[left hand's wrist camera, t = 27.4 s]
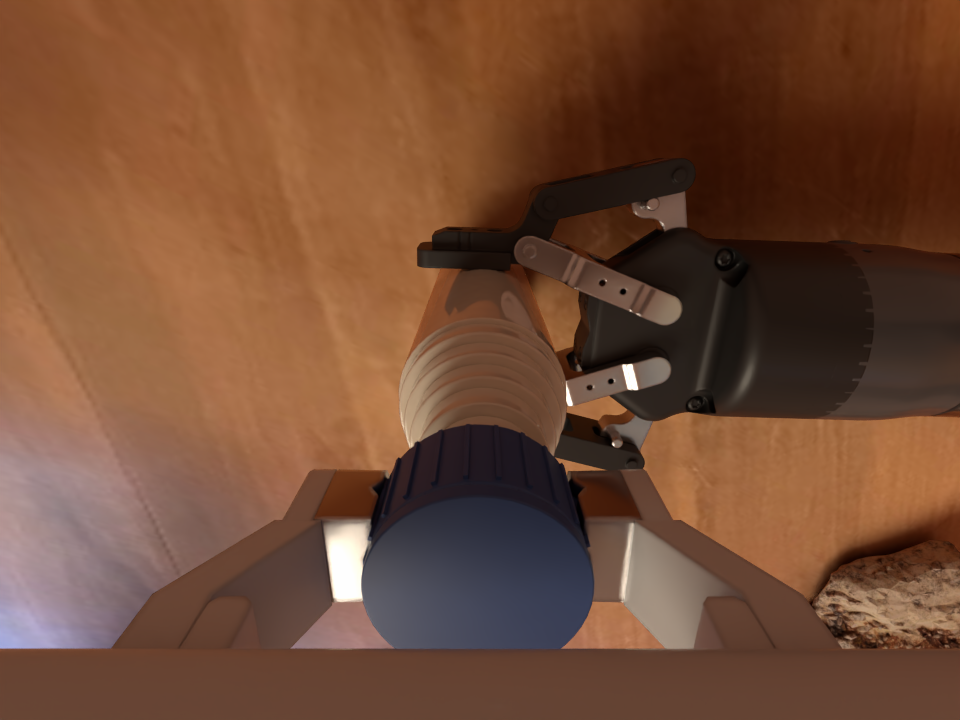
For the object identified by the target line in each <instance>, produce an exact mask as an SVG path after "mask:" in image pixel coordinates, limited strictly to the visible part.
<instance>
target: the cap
mask: <svg viewBox="0 0 960 720" xmlns="http://www.w3.org/2000/svg"><path fill="white" fill-rule="evenodd" d="M576 508H577V498H576V497H574V496H572V492H571V489H570V485H569V481H568V478H567V475H566V471H565V468H564V465H563V464H562V463H561V464H559V462H558V461H557V460H556V458H555V457H554V456H553V455H552V454H551V453H550V452H549V451H548V448H547V447H546V446H545V445H544V446H542V445H541V444H539V443H538V442H536V441H535V440H533V439H531V438H530V437H528V436H526V435H525V433H523V432H521V433H519V432H517V431H514V430H512V429H509V428H505V427H499V426H498V425H482V424H473V425H472V424H466V425H463V426H457V427H452V428H449V429H445V430H443V429H441V430H438V432H436V433H434V434H432V435H430V436H428V437H427V438H425V439H423V440H422V441H420V442H419V441H417V442H415V443H414V446H413V447H412V448H411V449H409V450H408V451H407V452H406V453H405V454H404V455H403V456H402V457H401V459H400V458H398V459H397V460H396V463H395V466H394V469H393V471H392V473H391V475H390V476H389V478H387V479H386V482H385V485H384V489H382V492H381V495H380V498H379V506H378V509H377V512H376V516H375V519H374V522H373V525H372V528H371V529H370V532H369V535H368V538H367V540H369V541H370V544H369V548H368V552H367V553H365V555H364V558H363V570H362V576H361V592H362V598H363V603H364V606H365V609H366V612H367V614H368V616H369V618H370V620H371V622H372V624H373V626H374V627H375V628H376V630H377V631H378V632H379V634H380V635H381V636H382V637H383V638H384V639H385V640H386V641H387V642H388V643H389V644H390V645H391V646H393V647H394V648H395V649H561V648H562V647H563V646H565V645H566V644H567V643H568V642H569V641H570V640H571V639H572V638H573V637H574V636H575V634H576V633H577V632H578V630H579V629H580V628H581V626H582V625H583V623H584V621H585V619H586V618H587V616H588V613H589V610H590V608H591V605H592V601H593V596H594V582H595V580H594V573H593V566H592V562H591V560H590V557H589V553H588V549H587V548H588V547H591V546H590V542H589V539H588V535H585V536H583V532H582V529H581V525H580V521H579V518H578V514H577V511H576Z"/></svg>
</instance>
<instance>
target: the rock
mask: <svg viewBox="0 0 960 720" xmlns="http://www.w3.org/2000/svg"><path fill="white" fill-rule="evenodd" d="M812 608H813V609H814V610H815V612H816V613H817V614H818V616H819V617H820V619H821V620H822V621H823V623H824V624H825V625H826V627H827V628H828V629H829V631H830V632H831V633H832V635H833V636H834V637H835V639H836V640H837V641H838V643H839V644H840V646H841V647H842V648H843V649H960V553H959V551H958V550H957V549H956V548H955V546H954V545H953V544H951V543H950V542H947V541H935V540H928V541H926V542H923V543H921V544H918V545H915V546H912V547H910V548H907V549H904V550H902V551H899V552H896V553H893V554H890V555H883V556H870V557H865V558H861V559H857V560H855V561H853V562H851V563H848V564H845V565H841V566H840V567H839V569H838V570H837V571H835V572H833V573H831V575H830V580H829V581H828V583H827V584H826V586H825V587H824V588H823V590H822V591H821V592H820V593H819V595H818V596H817V597H815V598H814V601H813V604H812Z"/></svg>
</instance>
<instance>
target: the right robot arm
mask: <svg viewBox="0 0 960 720" xmlns="http://www.w3.org/2000/svg"><path fill="white" fill-rule="evenodd" d="M695 175H696V172H695V167H694V165H693V164H692V163H691V162H690V161H689V160H687V159H684V158H658V159H653V160H649V161H644V162H639V163H635V164H630V165H626V166H621V167H617V168H612V169H608V170H603V171H599V172H594V173H590V174H585V175H581V176H576V177H572V178H567V179H562V180H558V181H553V182H549V183H544V184H540V185H538V186H536V187H534V188H533V189H532V191H531V192H530V195H529V201H528V203H527V205H526V208H525V210H524V213H523V215H522V217H521V219H520V220H519V222H518V223H517V224H515V225H514V226H512V227H510V228H505V229H501V228H470V227H445V228H442V229H440V230H437V231H435V232H434V234H433V235H432V242H422V243H420V245H419V246H418V247H417V266H419V267H424V268H446V269H476V270H478V269H487V270H506V271H510V267H511V264H521V265H522V266H525V267H527V268H529V269H532V270H534V271H537V272H539V273H542V274H544V275H547V276H549V277H552V278H554V279H557V280H559V281H561V282H563V283H565V284H566V285H568V286H570V287H572V288H574V289H576V290H578V291H579V299H578V302H579V308H580V314H581V320H580V322H579V325H578V327H577V330H576V333H575V337H574V347H570V348H567V349H564V350H560V351H557V352H556V354H557V356H558V359H559V361H560V364H561V367H562V370H563V372H564V375H565V380H566V387H567V399H566V402H567V406H574V405H578V404H581V403H585V402H588V401H592V400H595V399H599V398H602V397H606V396H610V397H612V398H613V399H614V400H616V401H617V402H618V403H620V404H621V405H622V406H624V407H625V408H626V409H627V411H626V412H625V413H623V414H621V415H603V416H602V417H601V419H600V420H599V421H597V420H594V419H590V418H586V417H582V416H578V415H574V414H570V413H566V419H565V423H564V427H563V430H562V432H561V435H560V439H559V442H558V445H557V447H556V450H555V453H554V457H556V458H560V459H564V460H568V461H572V462H576V463H580V464H584V465H589V466H593V467H597V468H601V469H605V470H629V469H643V467H644V464H645V461H644V458H643V456H642V454H641V453H640V449H641V447H642V445H643V442H644V440H645V438H646V436H647V433H648V431H649V429H650V427H651V425H652V422H653V421H660V420H663V419H665V418H668V417H670V416H672V415H675V414H679V413H684V412H692V413H699V414H705V415H712V416H729V417H762V418H798V419H831V420H884V419H894V418H902V417H912V416H933V417H960V253H935V252H926V251H920V250H915V249H910V248H904V247H898V246H889V245H876V244H858V243H856V242H851V241H844V240H841V241H829V242H827V243H820V242H791V241H761V240H730V239H710V238H705V237H704V236H702V235H701V234H699V233H698V232H696V231H695V230H692V229H690V228H687V214H686V198H685V191H686V190H687V189H688V188H690V186H691V185H692V184H693V182H694V180H695ZM621 205H626V207H627V210H628V211H629V212H630V213H631V214H633V215H635V216H637V217H640V218H644V219H646V218H651V219H653V220H654V222H655V223H656V226H657V229H655V230H654V231H652V232H651V233H649V234H648V235H646V236H645V237H643V238H641V239H640V240H638V241H637V242H635V243H634V244H632V245H630V246H629V247H627V248H626V249H624V250H623V251H621V252H619V253H618V254H616V255H615V256H613V257H612V258H610V259H608V260H606V259H604V258H601V257H599V256H597V255H594V254H592V253H590V252H587V251H585V250H582V249H580V248H578V247H575V246H573V245H570V244H566V243H563V242H561V241H558V240H556V239H553V238H551V235H552V233H553V230H554V228H555V226H556V224H557V221H558V219H561V218H565V217H570V216H575V215H579V214H584V213H589V212H593V211H598V210H603V209H607V208H612V207H616V206H621Z"/></svg>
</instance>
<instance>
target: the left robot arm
mask: <svg viewBox="0 0 960 720" xmlns="http://www.w3.org/2000/svg"><path fill="white" fill-rule="evenodd" d="M387 478H389V473H388V471H387V470H336V469H314V470H312V471H310V472H309V473H308V475H307V477H306V478H305V480H304V482H303V484H302V486H301V487H300V489H299V491H298V493H297V495H296V496H295V498H294V500H293V502H292V504H291V506H290V507H289V509H288V511H287V513H286V515H285V516H284V518H283V520H274V521H273V522H271V523H269V524H268V525H266V526H264V527H263V528H261V529H259V530H258V531H256V532H254V533H253V534H251V535H249V536H248V537H246V538H245V539H243V540H241V541H240V542H238V543H236V544H235V545H233V546H231V547H230V548H228V549H226V550H225V551H223V552H221V553H220V554H218V555H216V556H215V557H213V558H211V559H210V560H208V561H206V562H205V563H203V564H201V565H200V566H198V567H196V568H195V569H193V570H192V571H190V572H188V573H187V574H185V575H183V576H182V577H180V578H178V579H177V580H175V581H173V582H172V583H170V584H168V585H167V586H165V587H163V588H162V589H160V590H158V591H157V592H155V593H153V594H152V595H151V597H150V598H149V599H148V601H147V602H146V603H145V605H144V606H143V607H142V609H141V610H140V611H139V612H138V614H137V615H136V616H135V618H134V619H133V620H132V622H131V623H130V624H129V626H128V627H127V628H126V630H125V631H124V632H123V634H122V635H121V636H120V638H119V639H118V640H117V641H116V643H115V644H114V645H113V647H112V648H111V649H0V720H960V649H843V648H842V647H841V646H840V644H839V643H838V641H837V640H836V639H835V637H834V636H833V635H832V633H831V632H830V631H829V629H828V628H827V627H826V625H825V624H824V623H823V621H822V620H821V619H820V617H819V616H818V614H817V613H816V612H815V610H814V609H813V608H812V606H811V605H810V604H809V602H808V601H807V600H806V598H805V597H804V596H803V595H802V594H801V593H799V592H797V591H796V590H794V589H793V588H791V587H789V586H788V585H786V584H784V583H783V582H781V581H779V580H778V579H776V578H775V577H773V576H771V575H770V574H768V573H766V572H765V571H763V570H761V569H760V568H758V567H757V566H755V565H753V564H752V563H750V562H748V561H747V560H745V559H743V558H742V557H740V556H739V555H737V554H735V553H734V552H732V551H730V550H729V549H727V548H725V547H724V546H722V545H721V544H719V543H717V542H716V541H714V540H712V539H711V538H709V537H707V536H706V535H704V534H703V533H701V532H699V531H698V530H696V529H694V528H693V527H691V526H689V525H688V524H686V523H685V522H683V521H681V520H673V519H672V517H671V515H670V513H669V512H668V510H667V508H666V506H665V504H664V502H663V501H662V499H661V497H660V495H659V493H658V492H657V490H656V488H655V486H654V484H653V482H652V481H651V479H650V477H649V475H648V473H647V471H645V470H643V469H629V470H604V471H568V474H567V478H568V481H569V485H570V489H571V492H572V496H574V497H576V498H577V508H576V511H577V514H578V518H579V521H580V525H581V529H582V532H583V536H585V535H588V539H589V542H590V546H591V547H588V548H587V549H588V553H589V557H590V560H591V562H592V566H593V573H594V580H595V582H594V596H593V602H624V605H625V606H626V607H627V608H628V609H629V611H630V612H631V613H632V614H633V615H634V616H635V617H636V618H637V619H638V620H639V621H640V622H641V623H642V624H643V625H644V626H645V627H646V628H647V629H648V630H649V631H650V633H651V634H652V635H653V636H654V637H655V638H656V639H657V640H658V641H659V642H660V643H661V644H662V645H663V646H664V647H665V648H666V649H290V648H291V647H292V646H293V645H294V644H295V643H296V642H297V641H298V640H299V639H300V638H301V637H302V636H303V635H304V633H305V632H306V631H307V630H308V629H309V628H310V627H311V626H312V625H313V624H314V623H315V622H316V621H317V620H318V619H319V618H320V617H321V616H322V615H323V614H324V613H325V612H326V611H327V610H328V609H329V608H330V607H331V606H332V602H362V601H363V598H362V592H361V576H362V570H363V558H364V555H365V553H367V552H368V548H369V544H370V541H369V540H367V538H368V535H369V532H370V529H371V528H372V525H373V522H374V519H375V516H376V512H377V509H378V506H379V498H380V495H381V492H382V489H384V485H385V482H386V479H387Z"/></svg>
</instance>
